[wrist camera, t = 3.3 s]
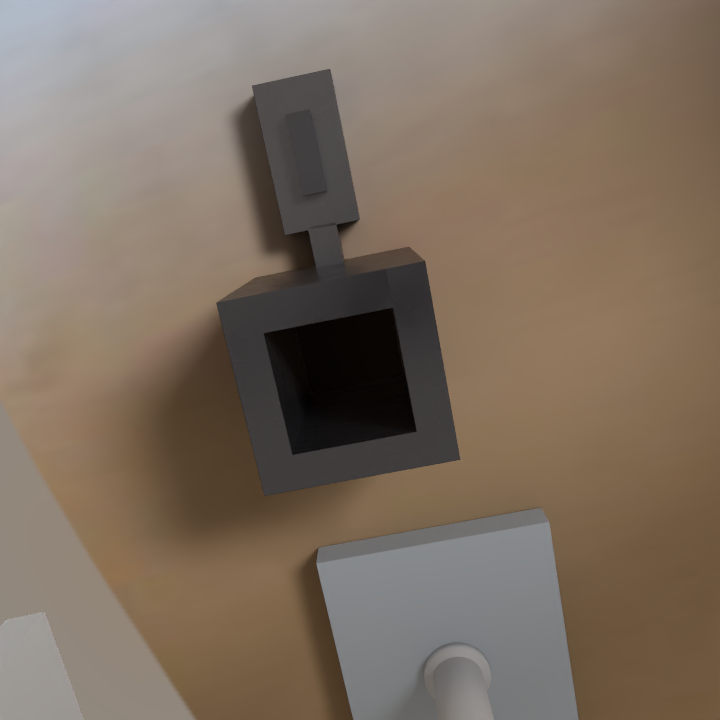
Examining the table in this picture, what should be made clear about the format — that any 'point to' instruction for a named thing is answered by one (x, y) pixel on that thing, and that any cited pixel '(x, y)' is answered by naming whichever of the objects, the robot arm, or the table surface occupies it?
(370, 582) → the keeper
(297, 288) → the grey square socket
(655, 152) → the table surface
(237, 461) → the table surface
